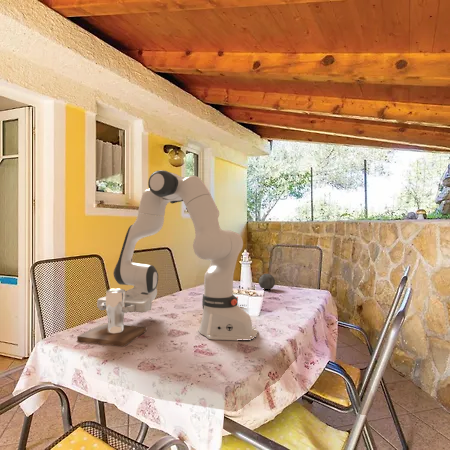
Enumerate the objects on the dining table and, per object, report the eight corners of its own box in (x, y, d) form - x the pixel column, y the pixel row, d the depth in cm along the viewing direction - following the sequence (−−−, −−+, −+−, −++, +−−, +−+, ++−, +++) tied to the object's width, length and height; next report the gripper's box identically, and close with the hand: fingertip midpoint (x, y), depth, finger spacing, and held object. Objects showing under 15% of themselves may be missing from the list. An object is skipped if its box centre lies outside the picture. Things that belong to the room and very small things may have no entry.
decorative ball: (275, 288, 213) (275, 273, 213) (274, 292, 203) (274, 275, 203) (259, 287, 215) (259, 272, 214) (257, 291, 205) (258, 274, 205)
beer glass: (119, 335, 118) (118, 293, 117) (101, 334, 119) (101, 292, 119) (129, 329, 124) (129, 289, 124) (113, 327, 126) (112, 288, 126)
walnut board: (146, 331, 128) (146, 327, 128) (123, 346, 112) (123, 342, 112) (104, 326, 132) (104, 322, 132) (77, 340, 117) (77, 336, 116)
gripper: (109, 290, 137) (87, 298, 124) (155, 294, 132) (137, 302, 119) (108, 306, 137) (87, 315, 124) (154, 310, 132) (137, 320, 119)
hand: (112, 309), depth 121 cm, fingers open, 8 cm apart
